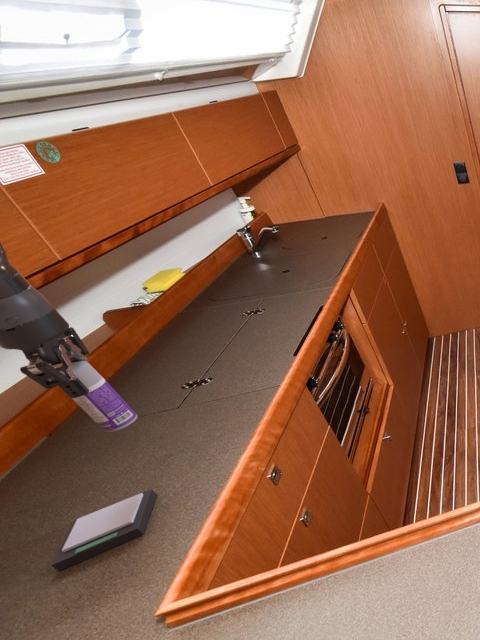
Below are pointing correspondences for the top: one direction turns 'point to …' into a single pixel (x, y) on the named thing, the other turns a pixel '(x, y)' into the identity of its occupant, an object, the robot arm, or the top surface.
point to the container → (101, 399)
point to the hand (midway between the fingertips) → (86, 386)
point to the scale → (105, 529)
